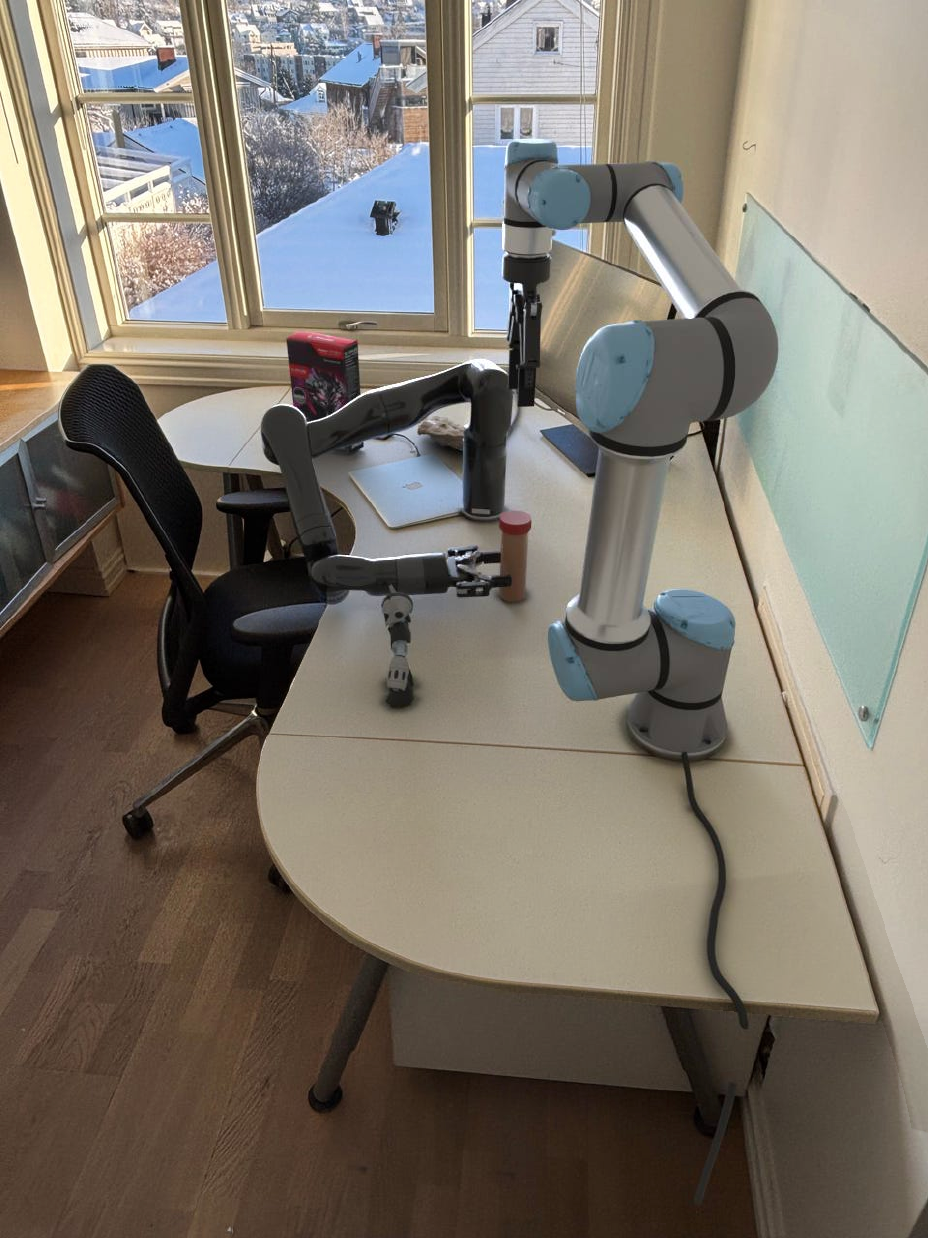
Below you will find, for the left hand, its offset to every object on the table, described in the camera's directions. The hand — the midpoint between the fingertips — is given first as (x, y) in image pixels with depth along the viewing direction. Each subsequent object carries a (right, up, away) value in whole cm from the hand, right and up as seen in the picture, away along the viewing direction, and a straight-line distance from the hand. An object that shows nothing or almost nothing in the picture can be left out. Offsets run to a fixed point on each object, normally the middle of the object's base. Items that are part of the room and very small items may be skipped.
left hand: (507, 568), depth 172 cm
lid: (+1, +9, -5) cm, 10 cm away
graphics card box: (-42, +34, +61) cm, 82 cm away
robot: (-18, -22, -21) cm, 35 cm away
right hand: (+1, +28, -18) cm, 33 cm away
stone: (-11, +34, +62) cm, 72 cm away
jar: (+1, -5, +4) cm, 6 cm away
